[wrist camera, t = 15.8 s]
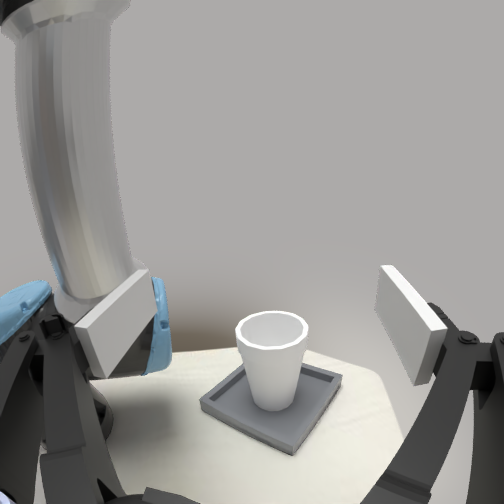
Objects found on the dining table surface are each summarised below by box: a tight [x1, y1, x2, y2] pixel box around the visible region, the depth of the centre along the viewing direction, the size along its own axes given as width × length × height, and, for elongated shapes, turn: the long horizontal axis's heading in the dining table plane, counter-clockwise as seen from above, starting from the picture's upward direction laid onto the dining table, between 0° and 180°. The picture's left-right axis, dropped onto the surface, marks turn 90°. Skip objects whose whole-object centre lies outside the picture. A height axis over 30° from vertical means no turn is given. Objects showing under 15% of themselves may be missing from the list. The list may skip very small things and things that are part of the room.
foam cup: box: [235, 311, 308, 411], centre depth 38 cm, size 10×9×13 cm
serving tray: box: [199, 363, 342, 456], centre depth 40 cm, size 16×16×2 cm
